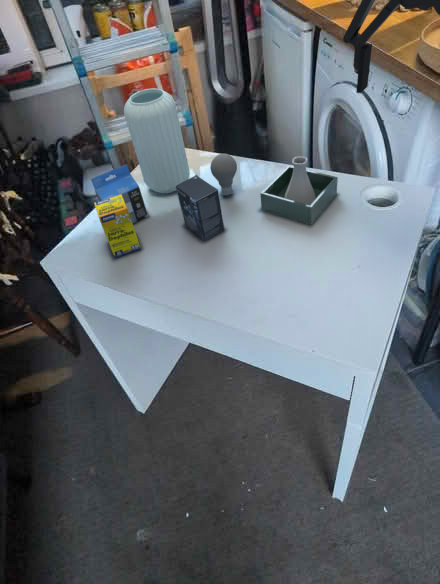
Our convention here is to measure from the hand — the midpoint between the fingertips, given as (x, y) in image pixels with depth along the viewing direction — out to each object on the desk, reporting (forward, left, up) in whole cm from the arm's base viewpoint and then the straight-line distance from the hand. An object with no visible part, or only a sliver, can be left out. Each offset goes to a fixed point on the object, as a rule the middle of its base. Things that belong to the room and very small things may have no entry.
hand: (403, 95), depth 68 cm
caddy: (+19, -1, -27) cm, 33 cm away
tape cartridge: (+51, +22, -27) cm, 62 cm away
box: (+33, +16, -27) cm, 45 cm away
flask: (+19, -1, -26) cm, 32 cm away
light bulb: (+36, +3, -27) cm, 45 cm away
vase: (+52, +6, -27) cm, 59 cm away
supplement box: (+45, +29, -27) cm, 60 cm away
